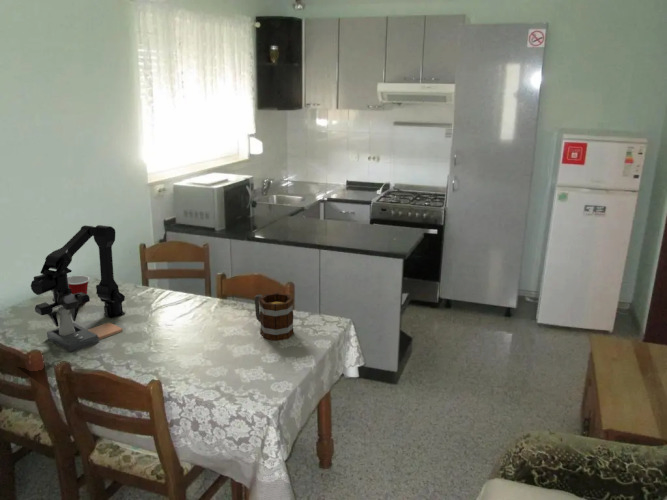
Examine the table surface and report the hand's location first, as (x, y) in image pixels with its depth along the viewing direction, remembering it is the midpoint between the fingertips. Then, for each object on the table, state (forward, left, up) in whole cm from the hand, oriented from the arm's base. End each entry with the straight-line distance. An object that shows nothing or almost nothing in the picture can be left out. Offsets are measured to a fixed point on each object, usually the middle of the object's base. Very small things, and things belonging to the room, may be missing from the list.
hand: (65, 323), depth 212 cm
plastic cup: (-21, -31, -6) cm, 38 cm away
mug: (-55, +58, -6) cm, 80 cm away
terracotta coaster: (-12, +6, -6) cm, 15 cm away
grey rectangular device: (0, +4, -6) cm, 7 cm away
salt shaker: (0, 0, -6) cm, 6 cm away
